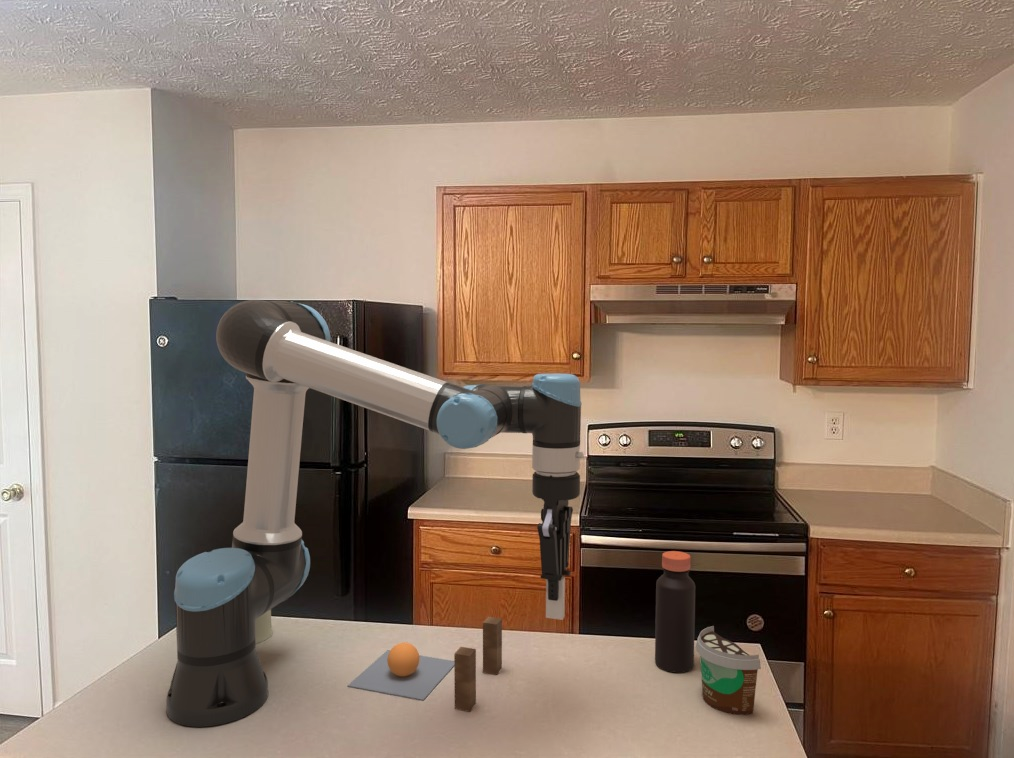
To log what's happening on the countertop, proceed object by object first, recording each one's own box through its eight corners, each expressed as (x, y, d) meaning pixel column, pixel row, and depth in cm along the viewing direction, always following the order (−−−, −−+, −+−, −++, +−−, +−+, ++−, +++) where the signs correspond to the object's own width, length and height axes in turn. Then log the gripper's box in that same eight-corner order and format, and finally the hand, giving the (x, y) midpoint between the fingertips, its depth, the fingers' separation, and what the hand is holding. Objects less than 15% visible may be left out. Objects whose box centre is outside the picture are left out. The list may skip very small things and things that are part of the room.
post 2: (482, 672, 125) (482, 622, 125) (488, 665, 128) (488, 616, 127) (496, 674, 124) (496, 624, 124) (501, 668, 127) (501, 618, 126)
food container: (679, 688, 120) (680, 630, 119) (710, 681, 122) (711, 624, 122) (726, 726, 109) (728, 662, 108) (759, 718, 111) (761, 655, 110)
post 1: (454, 708, 113) (454, 653, 113) (460, 700, 116) (460, 646, 115) (469, 711, 113) (469, 656, 112) (475, 703, 115) (475, 649, 114)
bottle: (698, 673, 125) (700, 561, 124) (659, 673, 125) (661, 561, 124) (688, 655, 132) (690, 549, 130) (651, 655, 132) (653, 549, 130)
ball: (389, 644, 122) (416, 662, 120) (403, 631, 127) (429, 648, 126) (376, 670, 123) (403, 688, 121) (391, 656, 128) (417, 674, 127)
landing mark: (347, 686, 120) (347, 685, 120) (387, 651, 134) (387, 650, 134) (423, 700, 116) (423, 699, 116) (457, 662, 129) (457, 661, 129)
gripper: (569, 481, 106) (568, 636, 108) (588, 465, 118) (587, 605, 120) (521, 478, 108) (520, 629, 110) (544, 462, 121) (543, 599, 122)
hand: (555, 616), depth 115 cm, fingers closed
